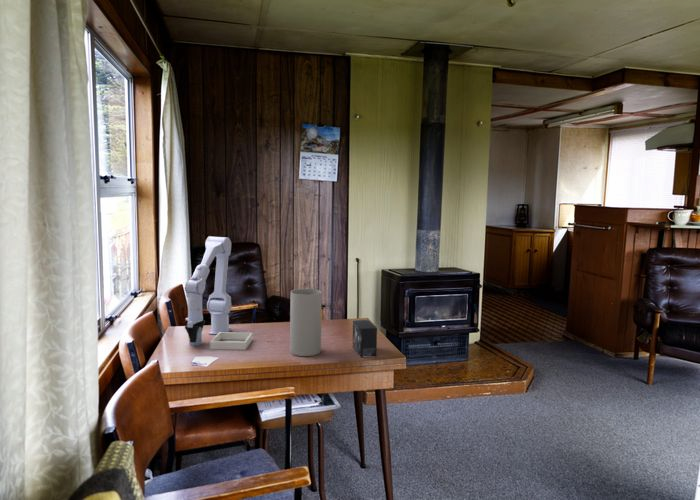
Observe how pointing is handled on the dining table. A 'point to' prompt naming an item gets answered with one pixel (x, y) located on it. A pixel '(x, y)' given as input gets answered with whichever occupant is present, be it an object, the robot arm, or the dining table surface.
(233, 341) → the pad
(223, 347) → the grey shallow square tray
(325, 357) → the dining table surface
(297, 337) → the cylinder vase
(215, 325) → the robot arm
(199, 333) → the cylinder
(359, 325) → the small box
